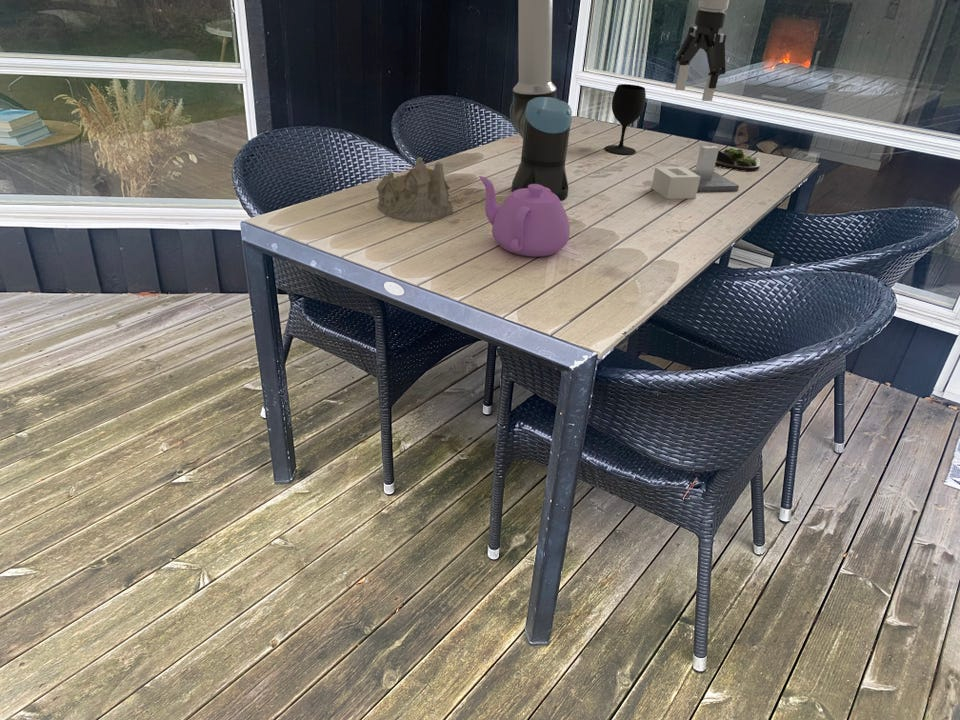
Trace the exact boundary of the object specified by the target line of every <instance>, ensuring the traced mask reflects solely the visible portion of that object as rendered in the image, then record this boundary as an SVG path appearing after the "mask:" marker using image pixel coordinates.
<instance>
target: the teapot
mask: <svg viewBox="0 0 960 720" xmlns="http://www.w3.org/2000/svg"><path fill="white" fill-rule="evenodd" d="M478 178H479V179H480V181H481V182H482V184H483V185H484V187H485V203H484V205H485V206H484V210H485V216H486V218H487V220H488V222H489V223H490V224H491V225H492V227H491V228H492V229H491V233H492V236H493V238H494V240H495V241H496V243H497V244H498V245H499V247H501V248H502V249H503V250H505V251H508V252H510V253H512V254H516V255H520V256H526V257H547V256H550V255H555V254H557V253H558V252H559V251H561V250H562V249H563V248H564V247H565V246H566V245H567V244H568V242H569V240H570V236H571V235H570V234H571V233H570V228H571V227H570V222H569V219H568V218H569V217H568V215H567V212H566V210H565V208H564V204H562V200H561V201H560V200H559V198H558V196H557V195H555V194H554V193H552V192H551V190H550V189H549V188H546V187H543V186H542V185H539V184H530V185H528V188H523V189H518V190H515V191H513V192H512V191H511V193H510V194H509V195H508V196H507V198H505V200H504V202H503V203H502V204H501V205H500V206H499V205H498V203H497V200H496V189H495V186H494V183H493V182H492V181H491V180H490V179H488V178H486V177H484V176H482V175H479V176H478Z"/></svg>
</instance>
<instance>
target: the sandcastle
mask: <svg viewBox="0 0 960 720" xmlns="http://www.w3.org/2000/svg"><path fill="white" fill-rule="evenodd" d="M450 189H451V187H450V186H449V185H448V183H447V182H446V179H445V173H444V166H443V162H440V161H437V162H435V163H434V168H433V169H431V168H429V167H427V164H425V162H424V161H423V158H422V157H420V156H419V157H417V158H416V161H415V164H414V167H413V168H410V169H409V170H408V172H406V173H405V174H403V175H400V176H399V175H396V177H394V172H393V171H388V172H387V174H386V175H383V177H382V179H381V180H380V182H378V184H377V186H376V191H377V192H378V200H379V201H378V202H377V210H379V211H380V212H381V213H382V214H384V215H385V216H386V217H387V218H391V219H395V220H398V221H401V222H406V223H417V224H418V223H430V222H434V221H436V220H439V219H442V218H445V217H448V216H451V215H453V214H454V210H453V204H452V203H451V201H450V200H449V197H450V194H449V192H448V191H449V190H450Z"/></svg>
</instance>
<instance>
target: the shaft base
mask: <svg viewBox="0 0 960 720" xmlns="http://www.w3.org/2000/svg"><path fill="white" fill-rule="evenodd" d="M718 151H720V148H719V147H718V146H716V145H701V146H700V149H699V152H698V157H697V162H696V165H695V169H689V170H690V171H692V172H693V173H695V174H697V175H698V176H700V181H699V186H698V190H697V193H705V192H706V193H708V192H735V191H736V192H737V191H739V187H740V185H739V184H737V183H736V182H733V181H732V180H730V179H728V178H727V177H724V176H722V175H721V174H719V173H718V172H716V171H714V170H715V167H716V166H715V163H716V159H717V155H718Z"/></svg>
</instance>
